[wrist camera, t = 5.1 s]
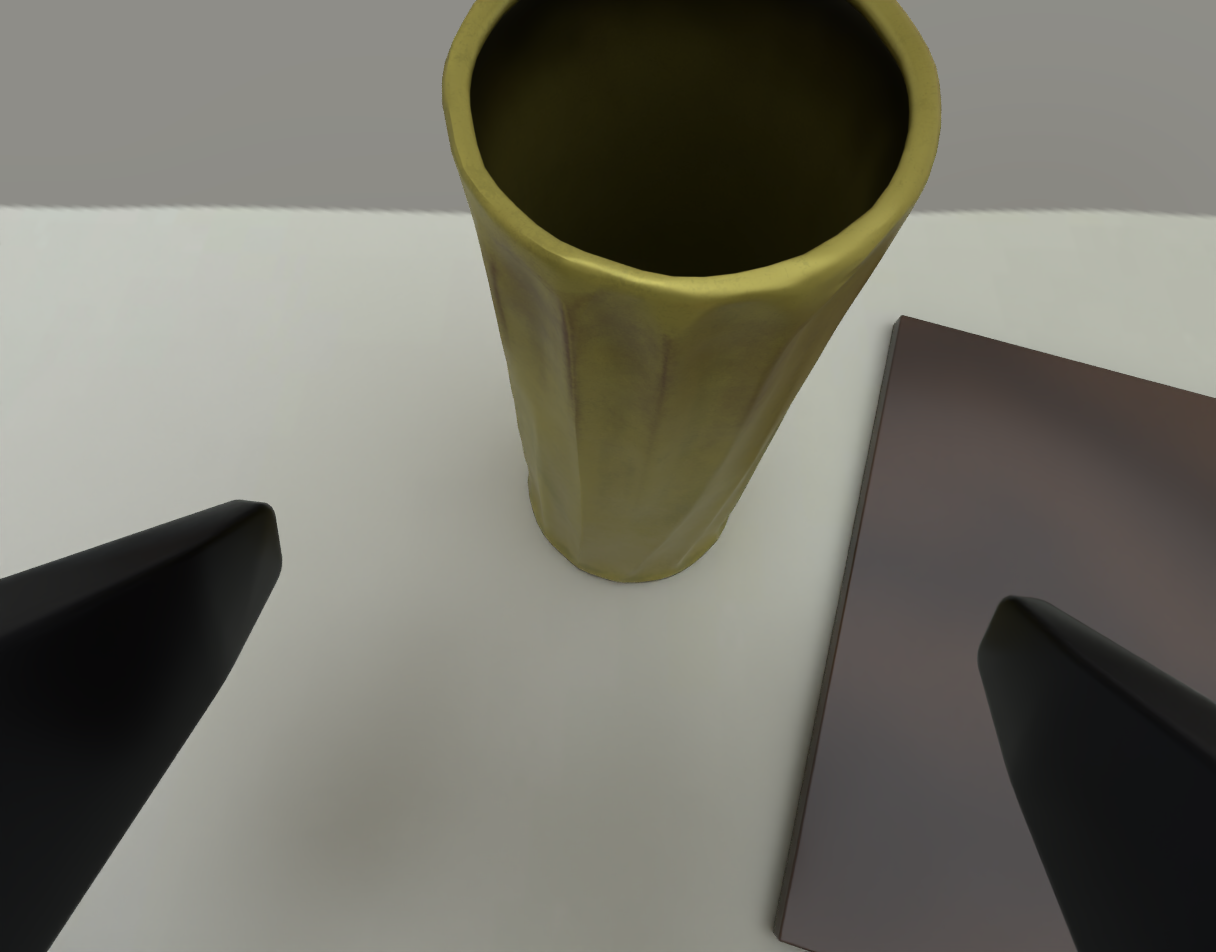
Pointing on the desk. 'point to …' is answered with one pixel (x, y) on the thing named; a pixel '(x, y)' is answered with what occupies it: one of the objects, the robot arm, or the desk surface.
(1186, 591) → the walnut board
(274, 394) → the desk surface
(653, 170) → the vase
